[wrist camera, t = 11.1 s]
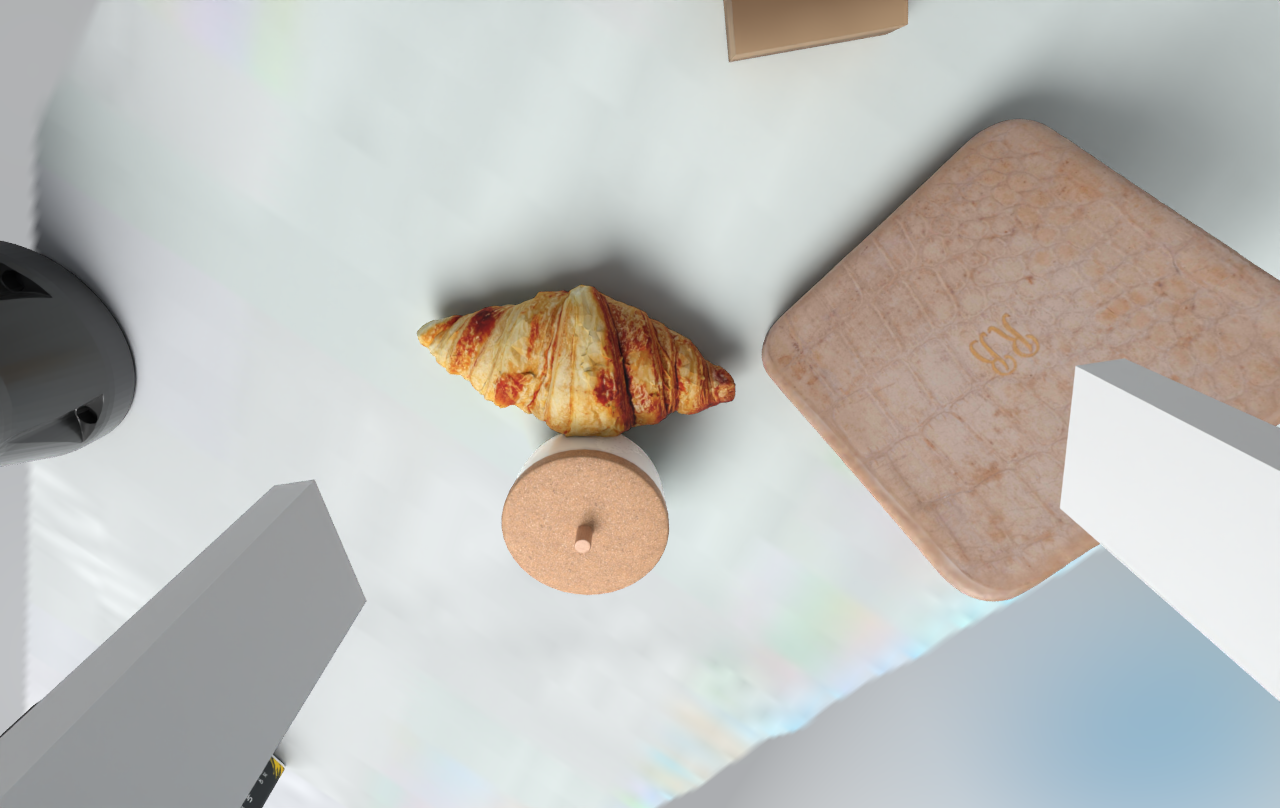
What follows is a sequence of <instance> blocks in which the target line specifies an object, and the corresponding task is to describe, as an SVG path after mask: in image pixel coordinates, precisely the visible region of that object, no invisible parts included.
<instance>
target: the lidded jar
mask: <svg viewBox="0 0 1280 808" xmlns="http://www.w3.org/2000/svg"><path fill="white" fill-rule="evenodd" d="M502 531H503V537H504V540H505V543H506V545H507V548H508V550H509V551H510V553H511V555H512V556H513V558H514V559H515V561H516V562H517V563H518V564H519V565H520V567H521V568H522V569H524V570H525V571H526V572H527V573H528V574H529V575H530V576H532V577H533V578H535V579H536V580H538V581H539V582H541V583H543V584H545V585H547V586H549V587H552V588H555V589H557V590H560V591H563V592H569V593H574V594H584V595H592V594H603V593H609V592H613V591H616V590H619V589H622V588H625V587H627V586H629V585H631V584H633V583H635V582H636V581H638V580H640V579H641V578H643V577H644V576H645V575H646V574H647V573H648V572H650V571H651V570H652V569H653V567H654V566H655V565H656V564H657V562H658V561H659V560H660V558H661V556H662V554H663V552H664V550H665V547H666V544H667V541H668V534H669V519H668V511H667V507H666V501H665V494H664V490H663V486H662V483H661V479H660V477H659V475H658V472H657V470H656V468H655V466H654V464H653V463H652V461H651V460H650V458H649V457H648V455H647V454H646V453H645V452H644V451H643V450H642V449H641V448H640V447H639V446H638V445H637V444H635V443H634V442H633V441H631V440H630V439H628V438H627V437H625V436H623V435H621V434H620V435H618V436H614V437H601V436H569V437H566V436H565V434H558V435H556V436H554V437H553V438H551V439H549V440H547V441H546V442H545V443H544V444H542V445H541V446H540V447H539V448H538V449H537V450H536V451H535V452H534V453H533V454H532V455H531V456H530V457H529V458H528V460H527V461H526V463H525V464H524V466H523V467H522V469H521V471H520V472H519V474H518V476H517V478H516V480H515V483H514V484H513V486H512V487H511V489H510V491H509V494H508V496H507V498H506V501H505V504H504V507H503V512H502Z"/></svg>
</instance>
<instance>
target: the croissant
mask: <svg viewBox="0 0 1280 808" xmlns="http://www.w3.org/2000/svg"><path fill="white" fill-rule="evenodd" d="M417 336H418V339H419V341H420V343H421V344H422V345H423V346H425V347H427V348H428V349H429V350H430V353H431V354H432V355H433V356H435V357H436V361H437V362H438V363H439V364H440V365H441V366H443V367H445V368H446V371H447V372H448V373H450V374H456V375H461V376H462V377H463V378H464V379H466V380H468V381H470V382H471V384H472V386H473V387H474V388H475V390H477V391H479V393H480V394H482V395H484V398H485V399H486V400H489V401H492V402H494V404H495V405H497V406H499V407H500V408H505V407H507V406H509V405H516V406H517V407H519V408H520V409H521V410H523V411H524V412H525V413H528V414H532V413H533V414H534V415H535V417H537V418H538V419H539V420H541V421H546V424H547V425H548V426H549V427H550V428H551V429H552V430H554V431H556V432H558V433H561V434H565V436H566V437H569V436H601V437H614V436H618V435H620V434H621V433H623V432H625V431H628V430H629V429H630V428H631V427H636V426H641V425H654V424H658V423H659V422H660V421H662V420H663V419H665V418H666V417H667V415H669V414H670V413H673V412H674V411H678V413H681V414H688V415H690V414H695V413H698V412H701V411H703V410H705V409H707V408H709V407H712V406H716V405H718V404H719V403H726V402H730V401H732V400H733V399H734V397H735V383H734V380H733V378H732V377H731V375H730V374H729V373H728V372H727V371H726V370H725V369H723V368H722V367H720V366H716V365H713V364H712V363H710V362H709V361H707V360H705V359H704V358H703V356H702V355H701V353H700V352H699V350H698V348H697V347H696V346H695V345H694V344H693V343H692V342H691V340H690V339H688V338H686V337H684V336H682V335H681V334H679V333H677V332H675V331H673V330H670V329H669V328H667V327H666V326H665V325H664V324H662V323H661V322H659V321H657V320H654V319H651V318H649V317H648V315H647V314H646V312H644V311H642V310H640V309H638V308H636V307H633V306H628V305H626V304H625V303H623V302H619V301H616V300H614V299H612V298H610V297H608V296H606V295H604V294H602V293H601V292H598V290H597V289H596V288H595V287H592V286H585V285H582V284H581V285H579V286H577V287H576V288H574V289H572V290H570V291H569V292H567V291H562V290H561V291H546V292H539V293H537V295H536V296H535V298H533V299H530V300H527V301H524V302H523V303H521V304H517V305H511V304H508V305H504V306H501V307H500V306H491V307H485V308H483V309H481V310H479V311H476V312H474V313H472V314H467V315H465V316H461V315H453V316H450V317H447V318H443V319H439V320H432V321H430V322H428V323H426V324H425V325H423V326H422V327H421V328H420V329H419V330H418V331H417Z"/></svg>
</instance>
